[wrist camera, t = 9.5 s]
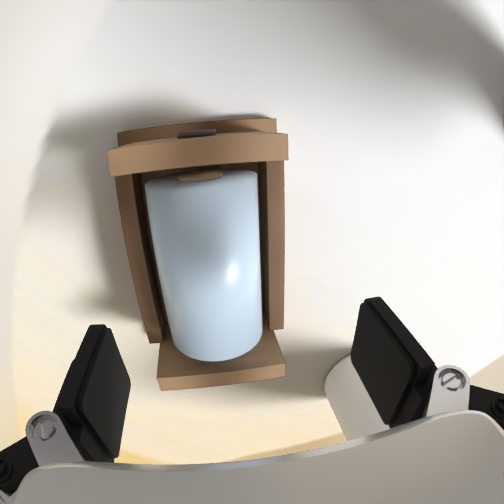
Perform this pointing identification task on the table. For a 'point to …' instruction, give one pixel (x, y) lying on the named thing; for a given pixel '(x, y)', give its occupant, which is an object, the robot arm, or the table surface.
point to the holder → (141, 244)
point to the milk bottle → (352, 402)
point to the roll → (208, 259)
